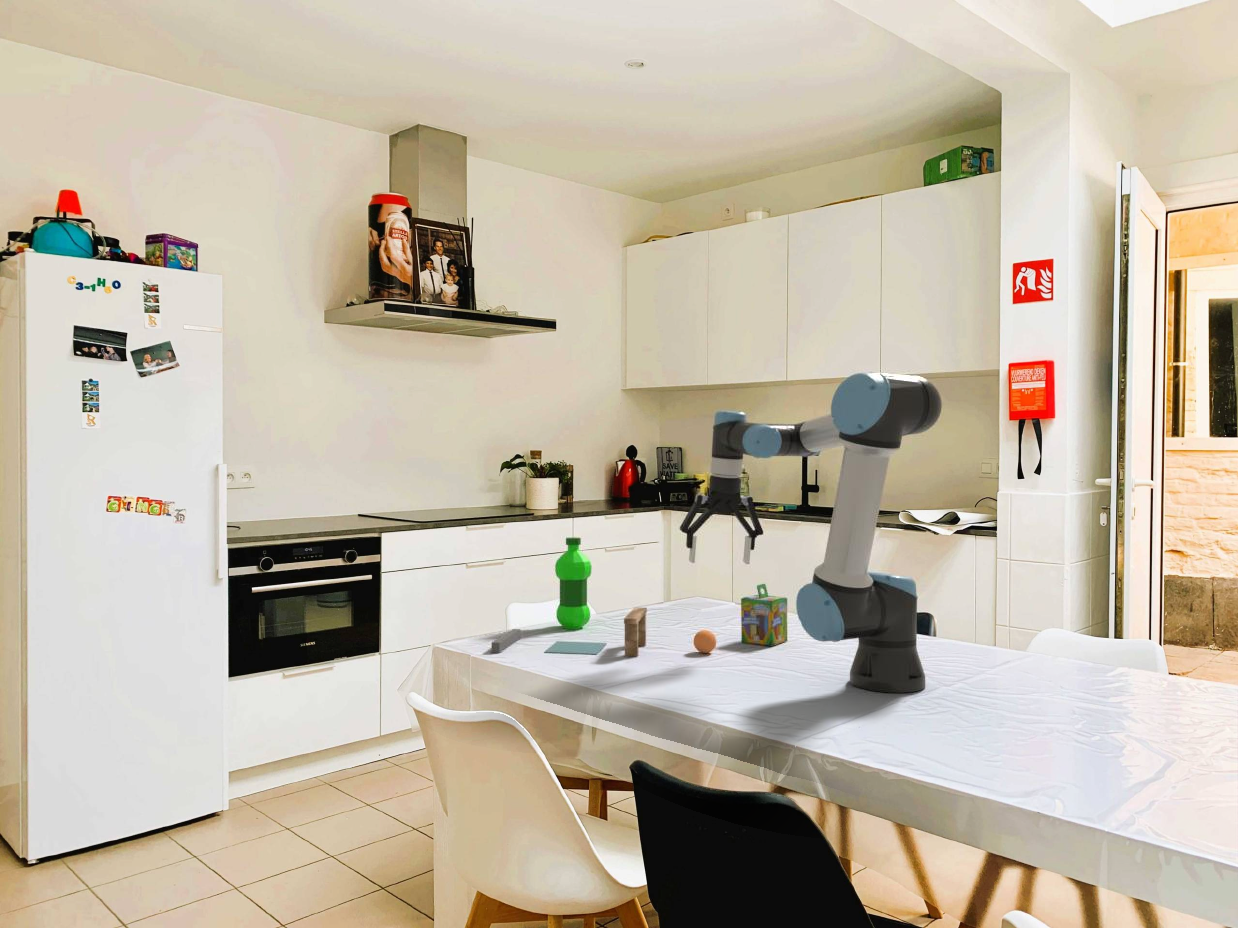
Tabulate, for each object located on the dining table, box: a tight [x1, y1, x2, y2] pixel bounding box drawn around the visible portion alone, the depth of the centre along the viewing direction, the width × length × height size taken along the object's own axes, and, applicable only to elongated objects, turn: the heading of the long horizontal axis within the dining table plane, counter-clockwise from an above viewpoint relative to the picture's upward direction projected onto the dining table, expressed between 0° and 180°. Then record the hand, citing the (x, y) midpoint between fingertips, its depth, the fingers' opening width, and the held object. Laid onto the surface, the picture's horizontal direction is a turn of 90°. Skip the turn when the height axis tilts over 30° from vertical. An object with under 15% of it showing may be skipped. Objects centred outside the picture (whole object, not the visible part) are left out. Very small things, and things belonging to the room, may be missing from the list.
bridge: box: [623, 607, 648, 658], centre depth 222 cm, size 3×16×9 cm, turn 170°
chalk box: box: [740, 583, 788, 647], centre depth 233 cm, size 9×9×15 cm
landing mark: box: [543, 640, 608, 656], centre depth 225 cm, size 13×13×1 cm
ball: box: [693, 629, 717, 654], centre depth 219 cm, size 6×6×6 cm
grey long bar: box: [491, 628, 522, 654], centre depth 228 cm, size 18×2×2 cm, turn 170°
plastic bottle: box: [554, 537, 592, 630], centre depth 253 cm, size 10×10×25 cm
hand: (719, 562), depth 219 cm, fingers open, 13 cm apart
